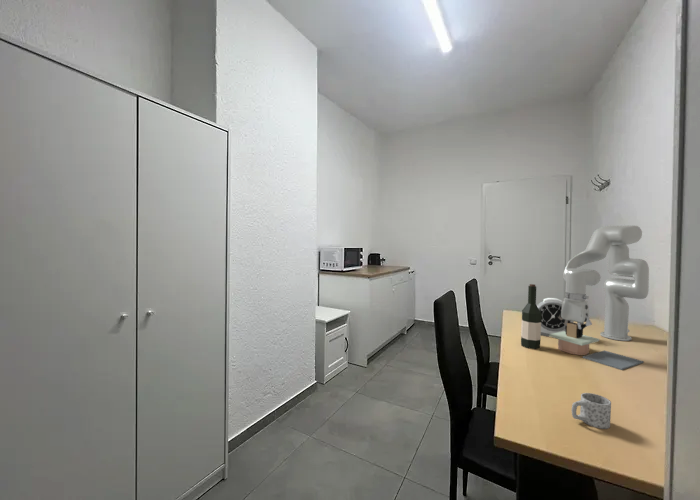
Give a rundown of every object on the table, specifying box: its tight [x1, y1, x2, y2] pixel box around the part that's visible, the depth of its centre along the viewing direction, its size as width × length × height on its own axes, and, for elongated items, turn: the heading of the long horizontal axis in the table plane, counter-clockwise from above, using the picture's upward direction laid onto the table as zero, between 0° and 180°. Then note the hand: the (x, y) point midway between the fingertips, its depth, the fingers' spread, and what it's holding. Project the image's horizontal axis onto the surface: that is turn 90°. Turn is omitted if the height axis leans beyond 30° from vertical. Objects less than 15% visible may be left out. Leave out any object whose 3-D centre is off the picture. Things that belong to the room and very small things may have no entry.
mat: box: [582, 350, 645, 371], centre depth 133 cm, size 18×14×1 cm
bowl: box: [557, 339, 590, 356], centre depth 144 cm, size 12×12×6 cm
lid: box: [549, 322, 600, 346], centre depth 144 cm, size 14×14×7 cm
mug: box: [571, 392, 612, 430], centre depth 87 cm, size 10×7×7 cm, turn 92°
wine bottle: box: [520, 283, 542, 350], centre depth 149 cm, size 8×8×30 cm
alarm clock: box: [536, 297, 575, 338], centre depth 166 cm, size 18×8×20 cm, turn 62°
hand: (573, 335), depth 144 cm, fingers closed on lid, 4 cm apart
